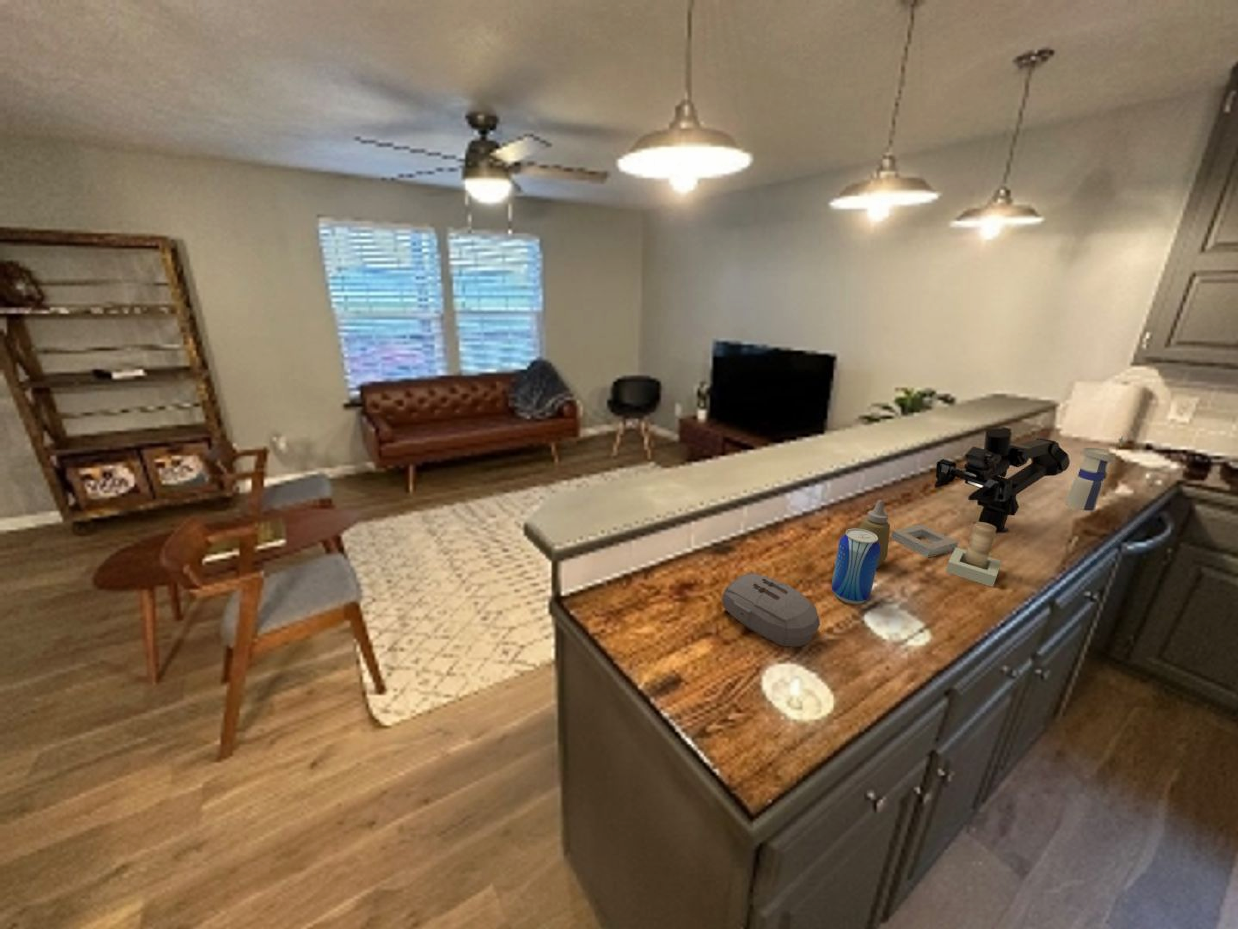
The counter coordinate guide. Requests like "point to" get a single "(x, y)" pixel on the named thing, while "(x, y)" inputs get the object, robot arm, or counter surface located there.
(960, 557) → the collar
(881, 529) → the squeeze bottle
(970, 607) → the counter surface
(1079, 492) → the water bottle
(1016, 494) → the robot arm
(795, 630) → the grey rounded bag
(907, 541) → the socket block
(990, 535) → the tan rounded peg
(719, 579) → the counter surface
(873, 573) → the beer can
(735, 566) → the counter surface
